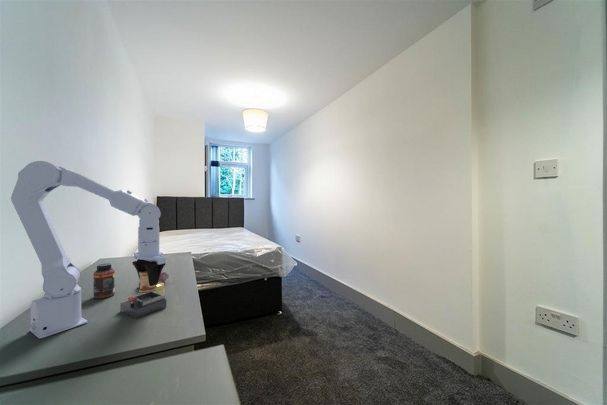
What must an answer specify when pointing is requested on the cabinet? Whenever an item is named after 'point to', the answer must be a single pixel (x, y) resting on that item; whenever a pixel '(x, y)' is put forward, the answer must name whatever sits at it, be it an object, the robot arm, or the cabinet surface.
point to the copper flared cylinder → (145, 283)
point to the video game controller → (161, 277)
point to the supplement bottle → (104, 281)
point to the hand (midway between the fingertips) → (149, 283)
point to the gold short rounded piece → (160, 288)
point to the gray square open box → (143, 304)
